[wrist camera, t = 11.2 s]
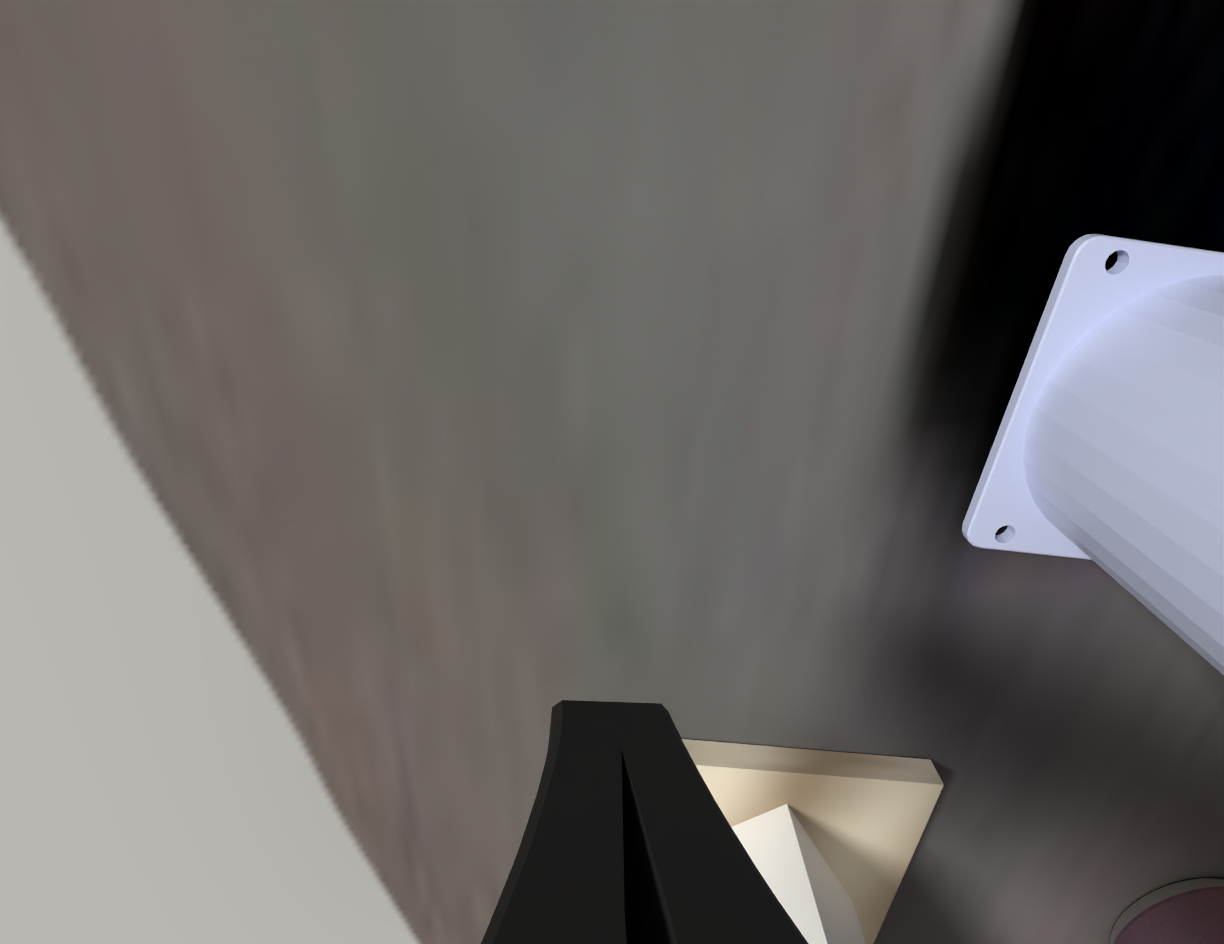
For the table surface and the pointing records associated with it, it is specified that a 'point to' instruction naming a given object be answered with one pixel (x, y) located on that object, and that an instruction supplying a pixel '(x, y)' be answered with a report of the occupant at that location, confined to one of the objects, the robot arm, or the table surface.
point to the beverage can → (1175, 915)
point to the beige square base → (832, 809)
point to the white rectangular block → (800, 877)
